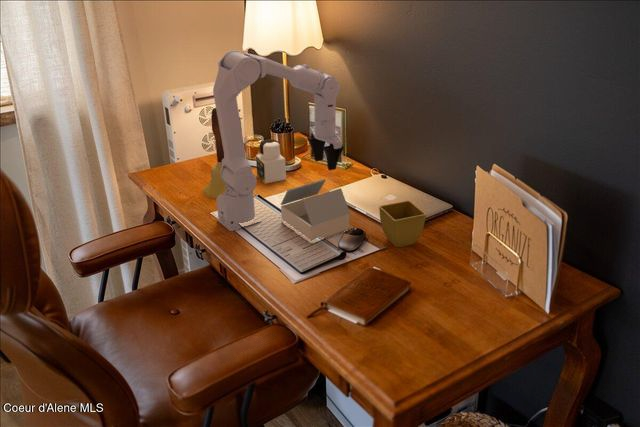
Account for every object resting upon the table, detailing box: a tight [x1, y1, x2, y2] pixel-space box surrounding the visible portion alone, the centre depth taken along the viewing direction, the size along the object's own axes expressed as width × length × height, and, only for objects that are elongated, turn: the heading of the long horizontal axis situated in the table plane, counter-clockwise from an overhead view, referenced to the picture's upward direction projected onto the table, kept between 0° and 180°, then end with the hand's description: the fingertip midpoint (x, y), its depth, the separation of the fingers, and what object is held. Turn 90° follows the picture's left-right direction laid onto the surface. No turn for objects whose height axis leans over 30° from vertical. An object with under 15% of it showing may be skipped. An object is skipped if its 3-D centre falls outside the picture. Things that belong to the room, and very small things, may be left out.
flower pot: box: [378, 200, 427, 248], centre depth 146 cm, size 9×9×9 cm
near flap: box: [301, 188, 351, 226], centre depth 148 cm, size 12×7×1 cm
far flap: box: [280, 178, 327, 206], centre depth 156 cm, size 12×7×1 cm
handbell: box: [202, 107, 226, 199], centre depth 172 cm, size 12×12×25 cm
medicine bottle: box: [255, 139, 287, 185], centre depth 182 cm, size 7×7×12 cm
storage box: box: [280, 194, 351, 241], centre depth 155 cm, size 12×14×5 cm
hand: (325, 164), depth 167 cm, fingers open, 7 cm apart
